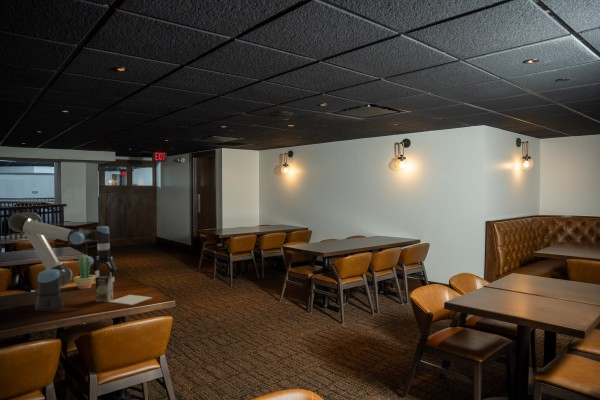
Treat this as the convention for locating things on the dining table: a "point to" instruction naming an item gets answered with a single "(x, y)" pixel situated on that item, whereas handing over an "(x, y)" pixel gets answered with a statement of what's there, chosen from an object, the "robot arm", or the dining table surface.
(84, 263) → the potted cactus
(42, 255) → the robot arm
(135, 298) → the mat
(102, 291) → the coffee box
